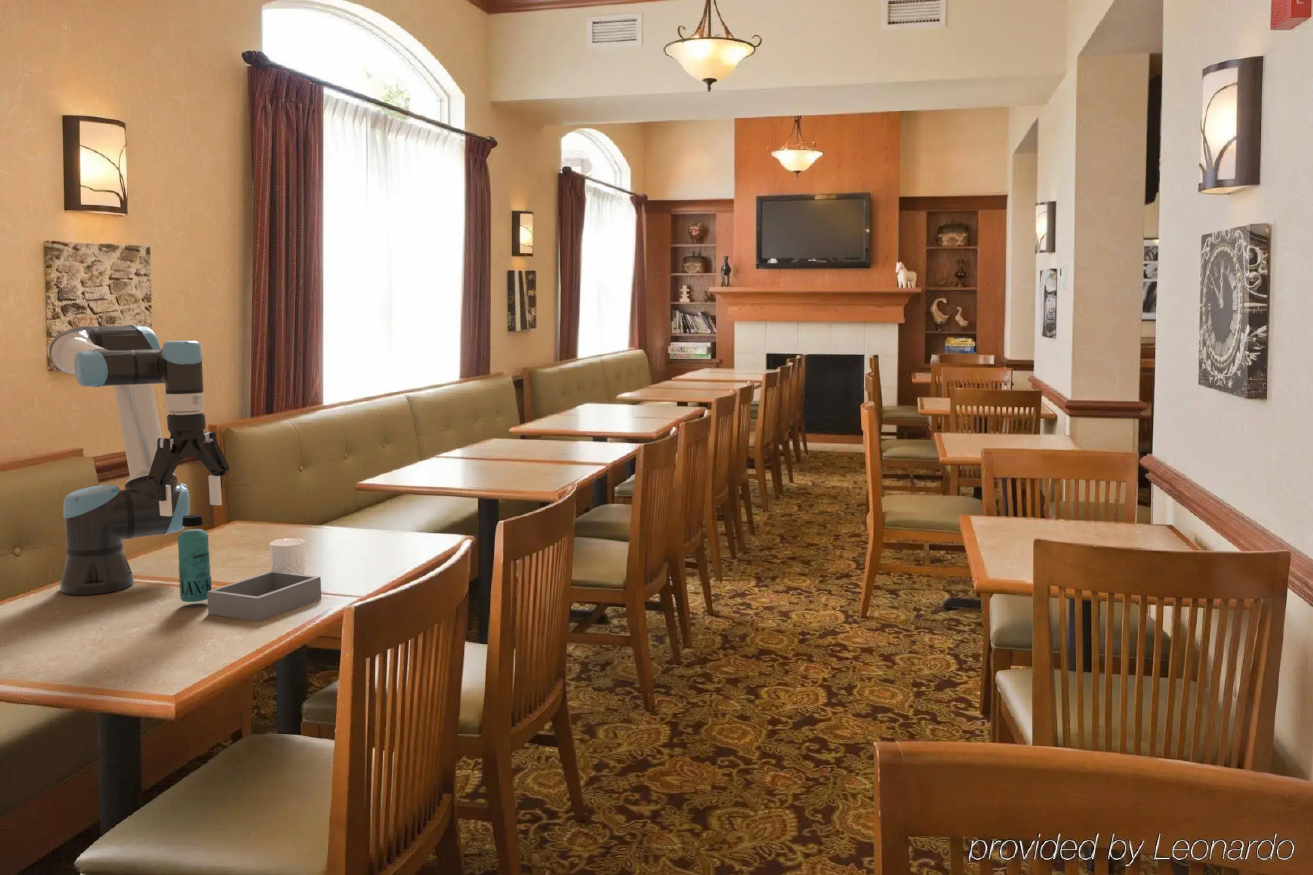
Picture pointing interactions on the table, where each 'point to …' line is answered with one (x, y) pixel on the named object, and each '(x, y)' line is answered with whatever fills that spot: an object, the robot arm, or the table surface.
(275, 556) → the white cup
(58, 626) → the table surface
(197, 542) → the beverage bottle
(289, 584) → the trough tray
